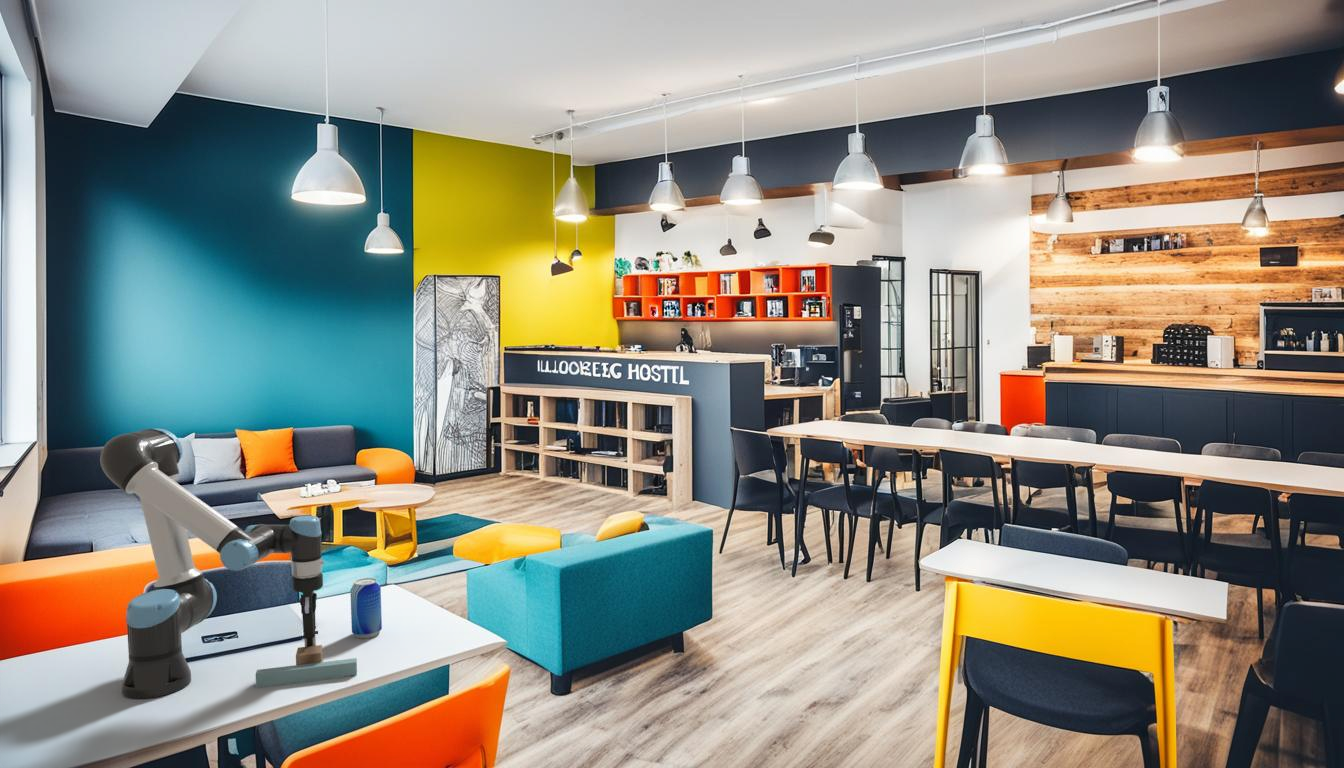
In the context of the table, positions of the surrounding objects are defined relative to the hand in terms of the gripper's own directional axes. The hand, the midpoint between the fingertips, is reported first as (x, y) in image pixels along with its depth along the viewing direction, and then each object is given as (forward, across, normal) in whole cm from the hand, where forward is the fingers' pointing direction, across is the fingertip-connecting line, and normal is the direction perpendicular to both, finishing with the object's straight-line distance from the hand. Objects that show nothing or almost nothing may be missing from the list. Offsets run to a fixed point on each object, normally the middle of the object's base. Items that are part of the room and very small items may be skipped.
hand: (310, 659), depth 235 cm
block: (+1, -5, 0) cm, 5 cm away
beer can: (+2, +20, -14) cm, 24 cm away
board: (+1, -10, 0) cm, 10 cm away
